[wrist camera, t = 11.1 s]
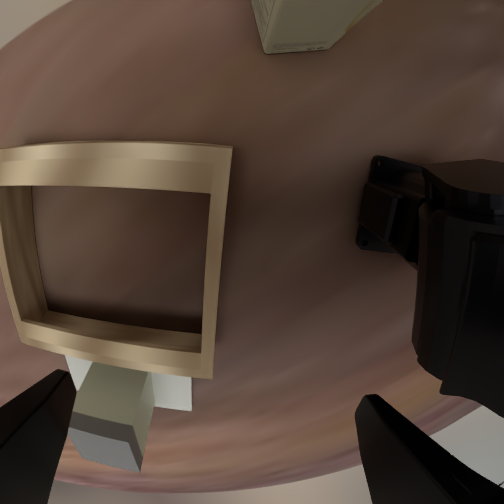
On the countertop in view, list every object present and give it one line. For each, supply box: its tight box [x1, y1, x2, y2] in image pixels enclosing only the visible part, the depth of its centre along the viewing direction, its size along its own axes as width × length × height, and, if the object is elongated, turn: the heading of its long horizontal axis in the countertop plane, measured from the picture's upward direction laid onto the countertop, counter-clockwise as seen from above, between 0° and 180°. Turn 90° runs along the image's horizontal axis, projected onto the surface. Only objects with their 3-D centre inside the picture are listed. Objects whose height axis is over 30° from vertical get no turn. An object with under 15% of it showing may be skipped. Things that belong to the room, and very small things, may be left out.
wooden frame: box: [0, 140, 233, 379], centre depth 18 cm, size 16×15×4 cm
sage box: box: [68, 362, 155, 473], centre depth 20 cm, size 5×5×8 cm
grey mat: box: [65, 355, 192, 411], centre depth 24 cm, size 12×6×1 cm, turn 83°
